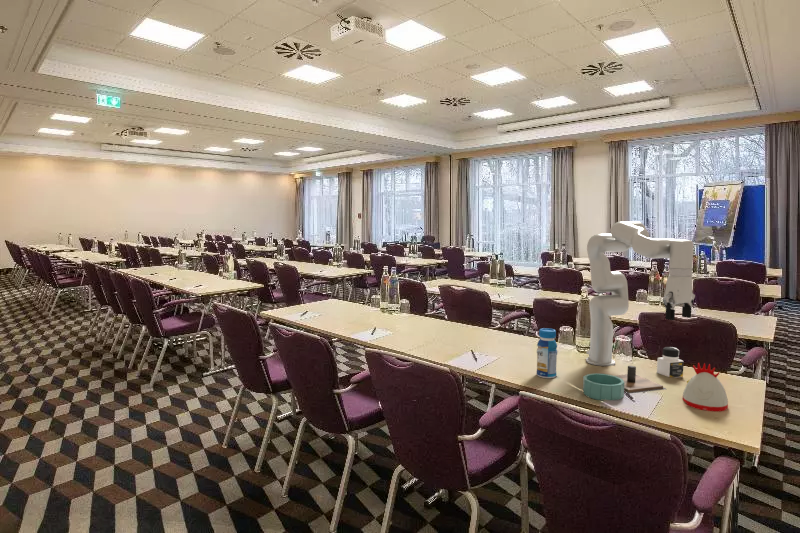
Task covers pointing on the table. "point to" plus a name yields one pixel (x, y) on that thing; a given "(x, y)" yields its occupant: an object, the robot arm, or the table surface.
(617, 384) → the bowl
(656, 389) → the mat
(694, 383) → the kitchen timer
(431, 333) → the table surface
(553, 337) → the beverage bottle
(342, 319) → the table surface
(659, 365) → the medicine bottle
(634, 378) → the lid
